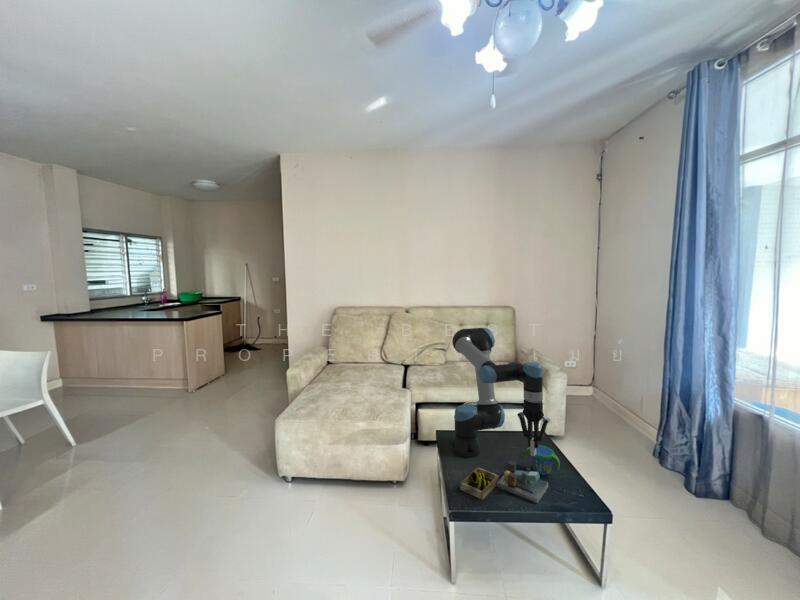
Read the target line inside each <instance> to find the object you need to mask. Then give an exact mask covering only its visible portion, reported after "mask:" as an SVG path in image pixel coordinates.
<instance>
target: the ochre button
mask: <svg viewBox="0 0 800 600" xmlns="http://www.w3.org/2000/svg"><path fill="white" fill-rule="evenodd" d="M509 473H510V471H508V470H504V472H503V475H504V478H505V479H506V480H508V474H509Z"/></svg>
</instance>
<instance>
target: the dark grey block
mask: <svg viewBox="0 0 800 600" xmlns="http://www.w3.org/2000/svg"><path fill="white" fill-rule="evenodd" d="M517 468H518V467H517V462H516V461H512V460H509V461H508V462H507V471H510V472H512V473H514V472H515V471H516V470H517Z"/></svg>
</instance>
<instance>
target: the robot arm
mask: <svg viewBox="0 0 800 600" xmlns="http://www.w3.org/2000/svg"><path fill="white" fill-rule="evenodd" d="M451 340H452V341H451V342H452V346H453V348H454V350H455V351H456V352H457V353H458V354H462V355H463V357H464V358H465V359H467V361H469V362H470V363H471V365H473V366H474V370H475V379H476V387H477V395H478V401H477V402H476V405H475V404H471V403H464V404H460V405H459V406H456V408H455V409H454V417H453V418H454V437H453V440H452V443H451V452H452V453H453V454H454V455H455V456H458V457H461V458H466V459H467V458H469V459H471V458H476V457H478V456H479V455H481V453H482V451H481V449H482V448H481V444H480V441H479V438H478V431H484V430H491V429H492V430H495V429H497V428H501V427H503V425H504V423H505V417H506V415H505V414H506V413H505V410H504V407H503V406H502V405H501V404H499V401H498V400H497V399H496V395H495V388H494V384H495V383H503V382H514V381H515V382H516V381H518V382H521V383H523V385H522V386H523V409H522V411H519V412H518V413H516V414H517V417H518V419H519V422H520V426H521V430H522V434H523V436H524V437H525V438H527V441H528V443H527V444H528V445H527V446H528V447H530V449H531V454H530V457H531V456H535V455H536V449H537V448H538V446H539V445H540V443H539V442H542V441H543V439H544V436H545V433H546V430H547V429H546V428H547V426H548V423H549V422H550V421H551V420H550V418H548V417H546V416H545V414H544V409H543V407H544V402H543V398H544V397H543V396H544V395H543V391H544V390H543V385H544V384H543V383H544V382H543V381H544V378H543V376H544V373H543V366H542V365H541V364H540V363H537V362H532V361H531V362H524V363H521V362H519V361H509V362H508V363H506V364H505V363H504V364H496V363H495V362H493V361H492V360H491V359H490V357H491V356H490V354H491V352H492V351H493V350H492V349H493V348H494V346H495V342H496V341H495V336H494V334H493V332H492V330H491V329H489V328H488V327H476V328H475V327H473V328H461V329H459V330H457V331H456V332H455V333H454V335H453V337H452V339H451ZM525 418H526V419H525ZM541 420H542V424H541V427H539V425H540V421H541ZM526 422H527V423H526Z"/></svg>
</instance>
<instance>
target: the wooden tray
mask: <svg viewBox="0 0 800 600" xmlns="http://www.w3.org/2000/svg"><path fill="white" fill-rule="evenodd" d="M473 471H476V472H479V473H483V474H484V477H485V479H488V480H490V481H489V484H490V485H487V486H486V487H485V489H484V490H482V489H480V490H478V488H476V487H474V486H472V485H470V483H471V482H472V480H471V478H472V474H471V473H469V474H468V475H467V476H466V477H465V478H464V479H463V480H462V481H460V484H459V486H460V487H459V490H460V491H463V492H465V493H467V494H469V495H471V496H472V497H473V496H474V497H476V498H478V499H479V500H482V501H483V500H484V499H485V498H486V497H487V496H488V495H489V494H490V493H491V492H492V491H493V490H494V489H495V487H497V482H498V481H499V480H500V475H499V474H496V473H494V472H491V471H488V470H486V469H484V468H481V467H476V468H475V469H474V470H473Z"/></svg>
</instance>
